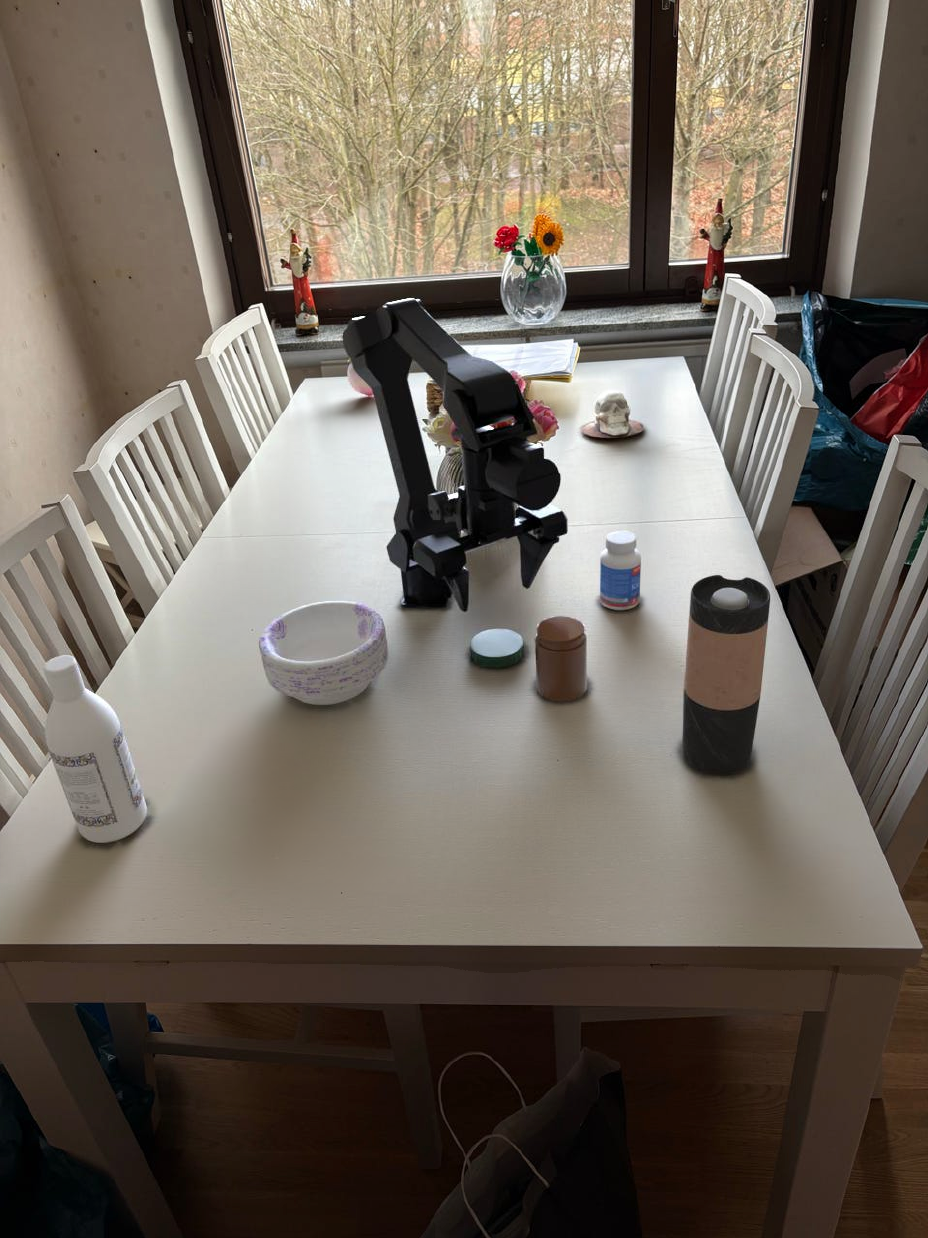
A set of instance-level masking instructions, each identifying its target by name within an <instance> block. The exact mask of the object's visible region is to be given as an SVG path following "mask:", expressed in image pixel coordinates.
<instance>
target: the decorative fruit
mask: <svg viewBox="0 0 928 1238" xmlns="http://www.w3.org/2000/svg"><path fill="white" fill-rule="evenodd" d="M346 362H347V363H349V362H350V363H349V365H348V368H347V371H346V373H347V380H348V383H349V384H350V386H351V388H352V389H353V390H354V391H355V392H357V393H358V394H362V395H365V396H368V397H372V396H373V392H372V389H371V387H370V386H369V385H368V384H367V383H366V382H365V381H364V380H363V379H362V378H361V377H360V376H359V375H358V374H357V373H356V372H355V371H354V368H353V365H352V362H351V359H350V358H348V360H347V361H346Z"/></svg>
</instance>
